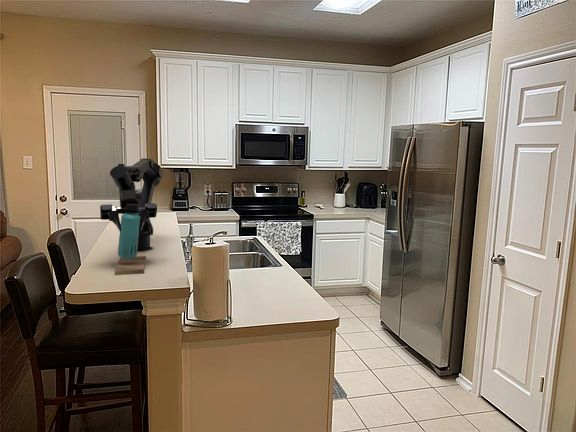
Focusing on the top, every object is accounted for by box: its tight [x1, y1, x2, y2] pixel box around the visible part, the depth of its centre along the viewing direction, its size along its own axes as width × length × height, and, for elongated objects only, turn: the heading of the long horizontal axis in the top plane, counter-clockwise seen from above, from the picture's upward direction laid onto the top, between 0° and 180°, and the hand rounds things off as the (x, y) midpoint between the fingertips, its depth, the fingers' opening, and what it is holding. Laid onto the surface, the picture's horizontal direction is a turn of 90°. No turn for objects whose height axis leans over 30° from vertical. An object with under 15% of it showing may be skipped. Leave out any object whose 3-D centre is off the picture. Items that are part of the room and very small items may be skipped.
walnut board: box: [114, 255, 147, 276], centre depth 148 cm, size 18×9×1 cm, turn 16°
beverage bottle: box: [117, 203, 140, 258], centre depth 146 cm, size 6×7×20 cm
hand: (130, 231), depth 146 cm, fingers closed on beverage bottle, 6 cm apart
